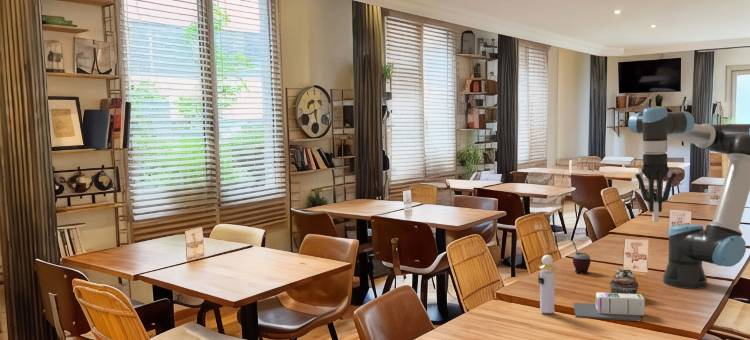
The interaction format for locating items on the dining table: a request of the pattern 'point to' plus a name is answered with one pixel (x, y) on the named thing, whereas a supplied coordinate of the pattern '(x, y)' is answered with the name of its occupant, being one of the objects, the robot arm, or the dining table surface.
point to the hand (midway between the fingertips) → (655, 221)
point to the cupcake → (624, 282)
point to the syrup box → (620, 303)
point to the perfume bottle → (546, 285)
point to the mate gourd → (581, 261)
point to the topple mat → (591, 312)
